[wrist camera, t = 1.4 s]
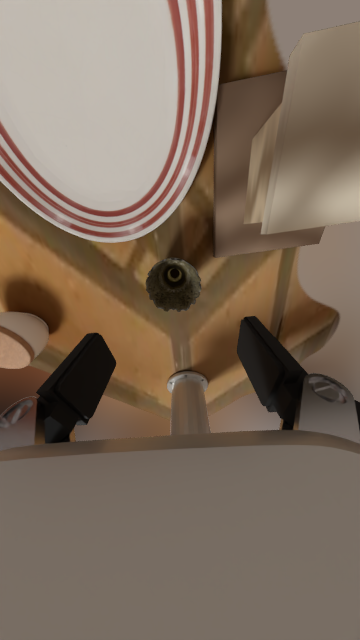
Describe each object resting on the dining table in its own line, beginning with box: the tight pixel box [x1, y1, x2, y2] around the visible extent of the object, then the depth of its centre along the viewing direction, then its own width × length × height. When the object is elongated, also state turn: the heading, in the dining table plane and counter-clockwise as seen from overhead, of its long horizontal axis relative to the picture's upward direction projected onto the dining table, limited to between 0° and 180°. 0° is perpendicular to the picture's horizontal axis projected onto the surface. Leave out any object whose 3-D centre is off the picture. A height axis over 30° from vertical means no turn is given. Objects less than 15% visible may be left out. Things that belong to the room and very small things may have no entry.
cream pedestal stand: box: [213, 21, 360, 258], centre depth 15 cm, size 16×16×10 cm
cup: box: [146, 258, 201, 312], centre depth 22 cm, size 8×7×8 cm
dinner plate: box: [0, 0, 222, 243], centre depth 14 cm, size 28×27×3 cm
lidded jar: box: [0, 312, 49, 369], centre depth 27 cm, size 11×11×9 cm
